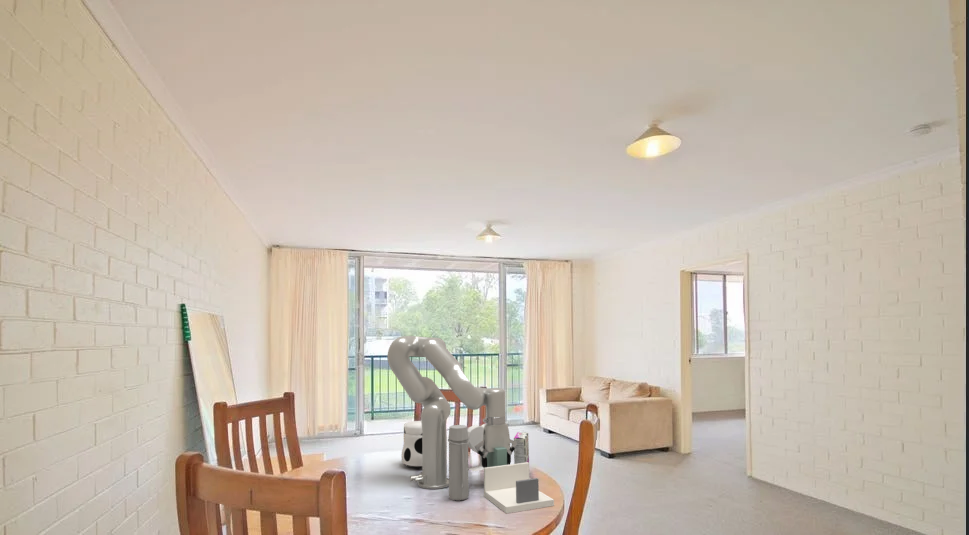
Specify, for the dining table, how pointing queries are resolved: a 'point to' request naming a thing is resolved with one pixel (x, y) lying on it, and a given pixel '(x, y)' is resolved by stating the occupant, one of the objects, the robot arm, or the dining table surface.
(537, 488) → the shelf
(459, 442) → the water bottle
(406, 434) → the milk container
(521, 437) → the candy bar box
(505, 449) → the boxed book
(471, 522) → the dining table surface
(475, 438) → the heart sculpture
